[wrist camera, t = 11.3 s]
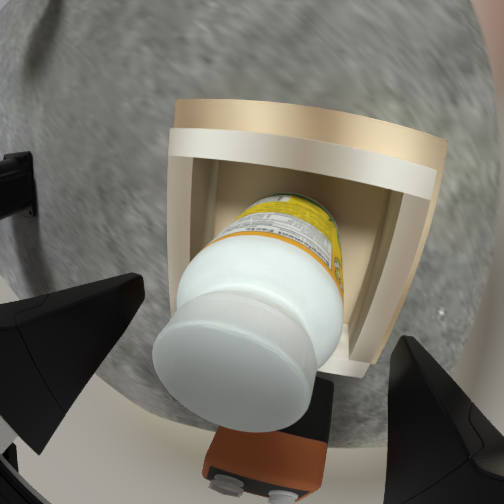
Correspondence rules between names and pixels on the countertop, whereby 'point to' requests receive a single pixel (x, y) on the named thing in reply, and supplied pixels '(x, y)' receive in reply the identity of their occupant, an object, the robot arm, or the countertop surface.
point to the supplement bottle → (256, 316)
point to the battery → (274, 455)
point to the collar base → (316, 187)
